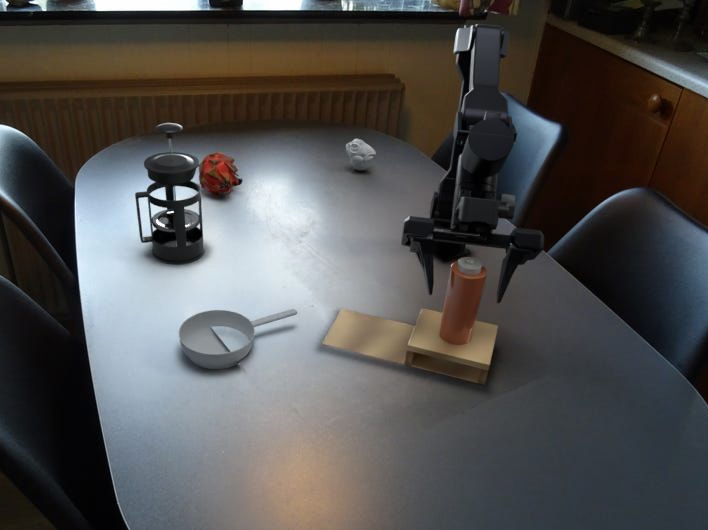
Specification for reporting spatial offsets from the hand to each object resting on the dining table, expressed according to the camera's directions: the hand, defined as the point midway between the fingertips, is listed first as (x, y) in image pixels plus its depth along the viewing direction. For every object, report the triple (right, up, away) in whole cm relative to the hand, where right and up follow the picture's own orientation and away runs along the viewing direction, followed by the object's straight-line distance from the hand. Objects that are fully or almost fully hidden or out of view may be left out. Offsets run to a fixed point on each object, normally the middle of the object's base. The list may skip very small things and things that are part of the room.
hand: (464, 298), depth 92 cm
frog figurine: (-11, +32, +65) cm, 73 cm away
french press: (-46, +9, +29) cm, 55 cm away
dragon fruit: (-41, +24, +51) cm, 70 cm away
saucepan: (-31, -7, +8) cm, 33 cm away
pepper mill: (0, -5, +5) cm, 7 cm away
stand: (-6, -7, +9) cm, 14 cm away
